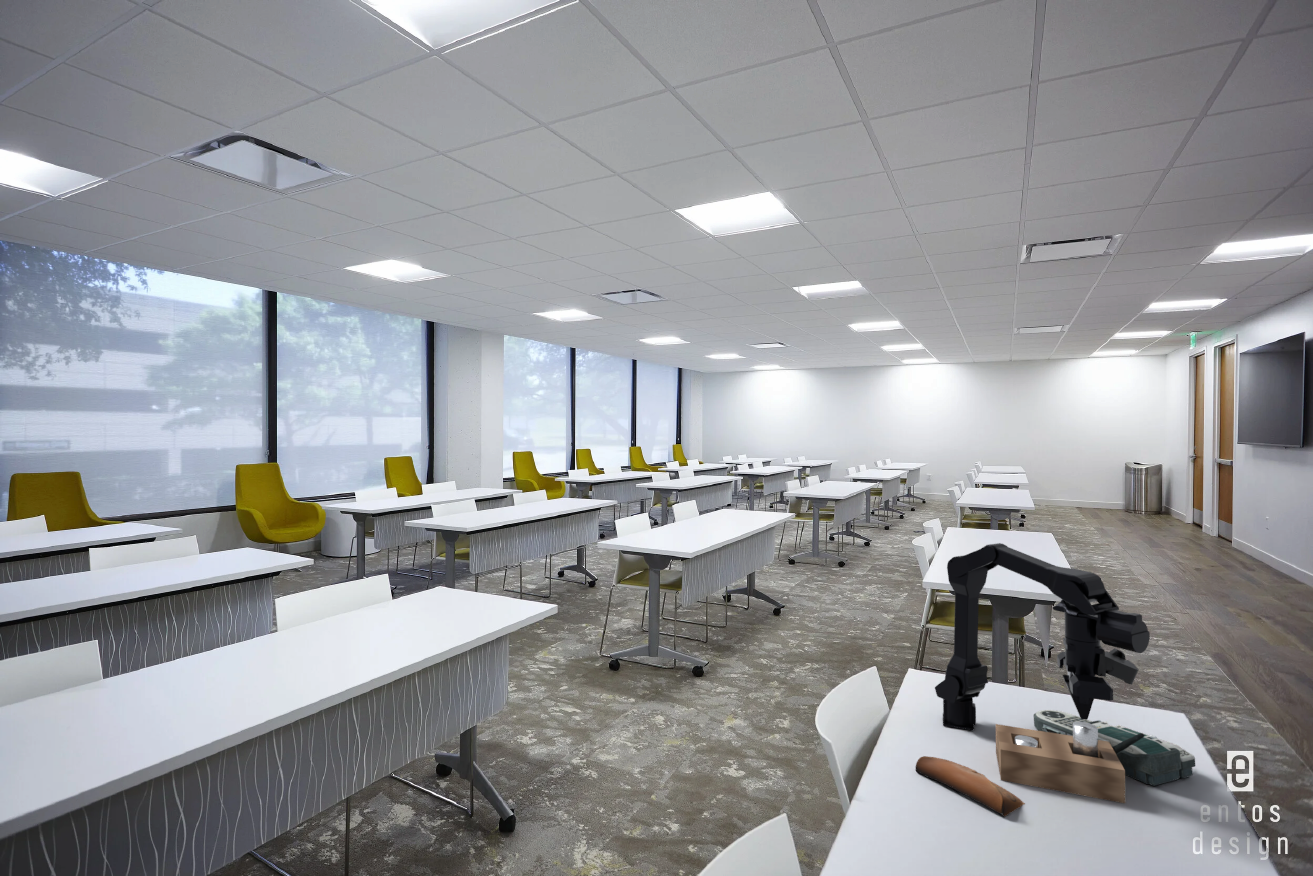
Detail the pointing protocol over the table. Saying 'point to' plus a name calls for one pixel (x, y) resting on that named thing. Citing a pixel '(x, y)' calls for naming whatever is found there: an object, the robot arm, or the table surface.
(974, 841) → the table surface
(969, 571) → the robot arm
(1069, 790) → the pin block
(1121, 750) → the communication device
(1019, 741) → the pin
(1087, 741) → the pin
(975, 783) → the sunglasses case
